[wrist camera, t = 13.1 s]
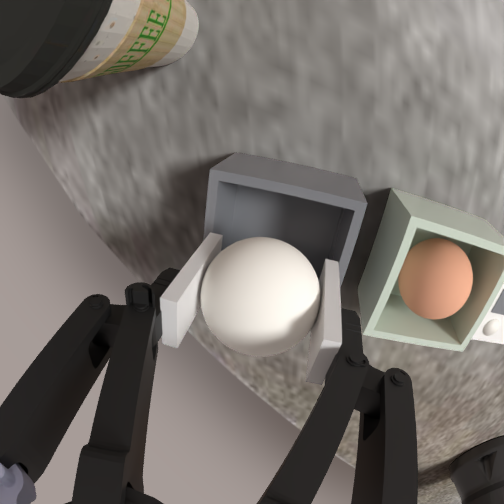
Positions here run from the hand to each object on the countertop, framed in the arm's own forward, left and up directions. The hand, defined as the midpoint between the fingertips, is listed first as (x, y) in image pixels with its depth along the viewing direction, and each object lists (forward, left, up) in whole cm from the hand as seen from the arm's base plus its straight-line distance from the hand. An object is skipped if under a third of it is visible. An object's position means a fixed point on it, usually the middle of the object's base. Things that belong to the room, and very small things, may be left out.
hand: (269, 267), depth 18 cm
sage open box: (0, -12, -8) cm, 14 cm away
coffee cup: (+14, +12, -8) cm, 20 cm away
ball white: (0, 0, +3) cm, 3 cm away
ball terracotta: (0, -12, -4) cm, 13 cm away
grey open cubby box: (0, 0, -8) cm, 8 cm away
